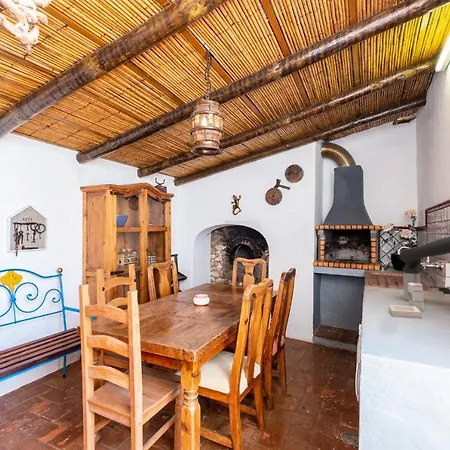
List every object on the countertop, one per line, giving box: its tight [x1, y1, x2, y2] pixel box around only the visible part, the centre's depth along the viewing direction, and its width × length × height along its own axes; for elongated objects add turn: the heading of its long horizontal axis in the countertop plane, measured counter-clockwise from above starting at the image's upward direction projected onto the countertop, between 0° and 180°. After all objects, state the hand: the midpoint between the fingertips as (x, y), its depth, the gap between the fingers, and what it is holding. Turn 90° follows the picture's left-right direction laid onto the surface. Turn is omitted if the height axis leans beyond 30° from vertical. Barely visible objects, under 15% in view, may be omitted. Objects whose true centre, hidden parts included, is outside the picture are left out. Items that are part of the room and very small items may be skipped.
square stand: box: [388, 304, 423, 319], centre depth 159 cm, size 13×13×3 cm
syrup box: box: [408, 283, 425, 312], centre depth 169 cm, size 6×6×14 cm
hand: (440, 290), depth 164 cm, fingers open, 8 cm apart
